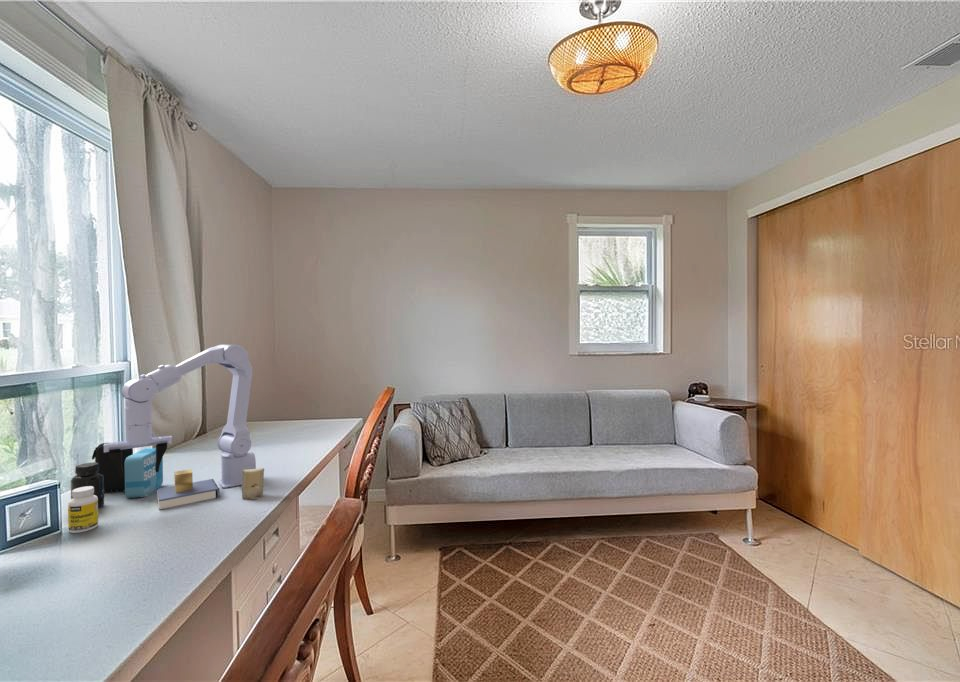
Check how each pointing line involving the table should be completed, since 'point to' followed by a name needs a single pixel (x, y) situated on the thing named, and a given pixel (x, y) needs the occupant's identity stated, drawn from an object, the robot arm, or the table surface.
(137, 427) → the robot arm
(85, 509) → the supplement bottle
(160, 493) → the slate blue book
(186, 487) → the mustard block
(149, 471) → the data package
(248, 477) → the tan upright rounded block
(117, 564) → the table surface
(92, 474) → the supplement bottle
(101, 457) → the carrying case or bag
